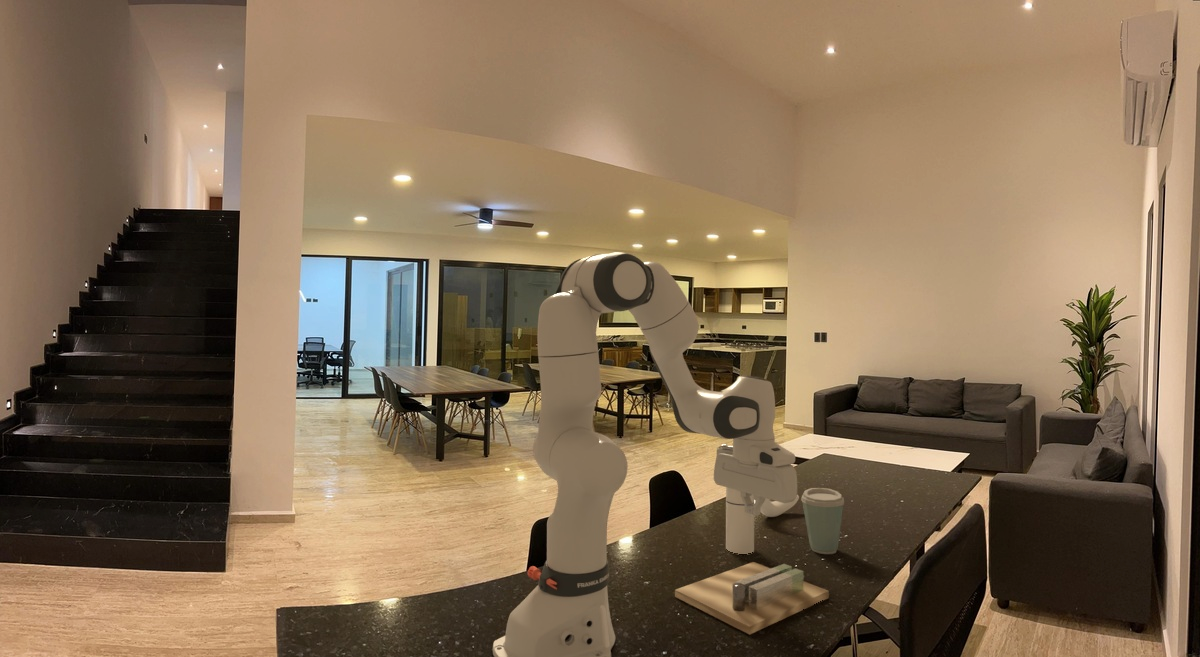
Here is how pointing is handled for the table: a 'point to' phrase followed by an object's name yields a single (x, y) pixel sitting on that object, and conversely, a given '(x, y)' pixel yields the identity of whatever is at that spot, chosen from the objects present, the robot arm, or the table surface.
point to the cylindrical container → (738, 524)
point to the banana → (776, 507)
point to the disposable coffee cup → (823, 518)
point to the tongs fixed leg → (775, 588)
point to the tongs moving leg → (743, 585)
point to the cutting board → (718, 603)
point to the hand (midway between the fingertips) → (752, 513)
